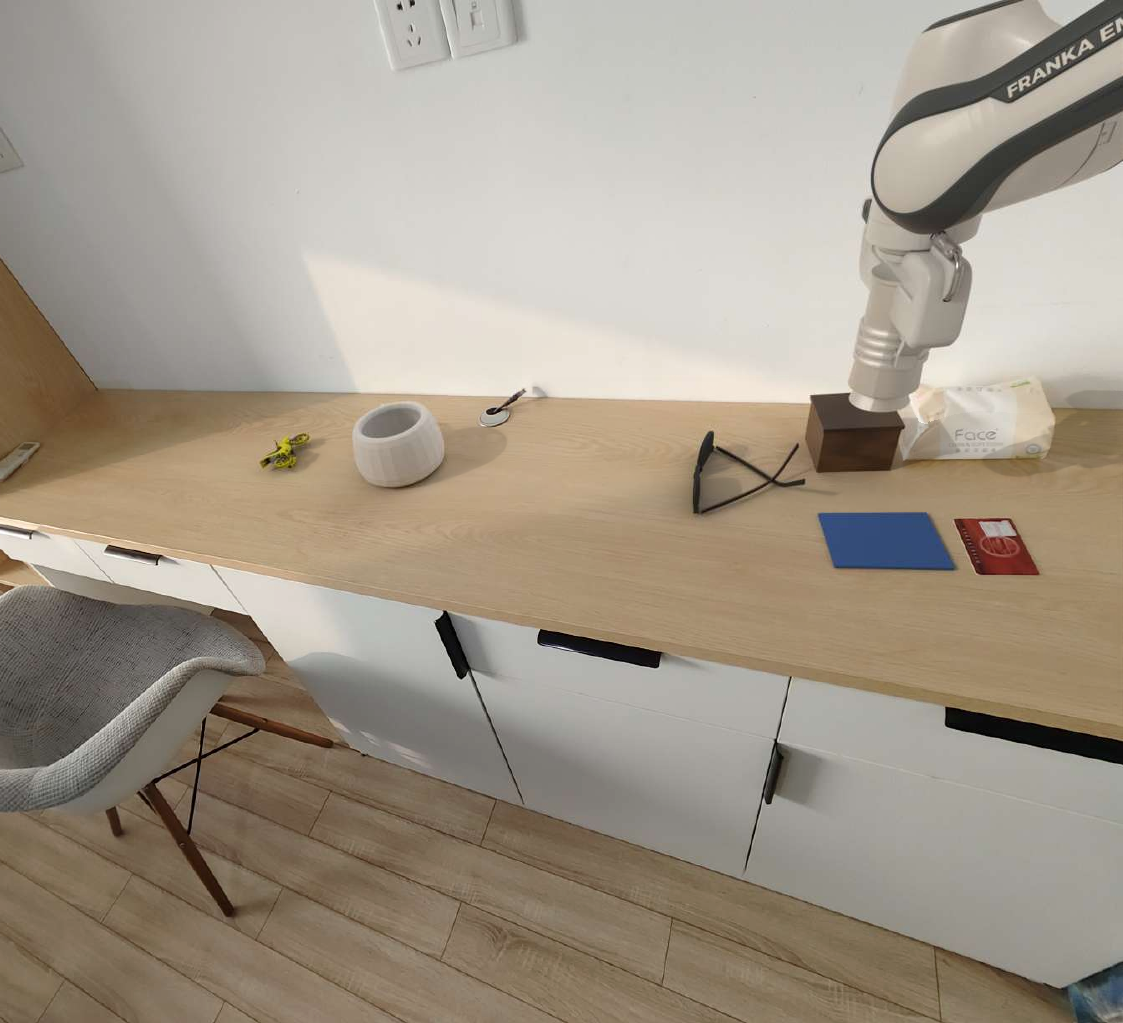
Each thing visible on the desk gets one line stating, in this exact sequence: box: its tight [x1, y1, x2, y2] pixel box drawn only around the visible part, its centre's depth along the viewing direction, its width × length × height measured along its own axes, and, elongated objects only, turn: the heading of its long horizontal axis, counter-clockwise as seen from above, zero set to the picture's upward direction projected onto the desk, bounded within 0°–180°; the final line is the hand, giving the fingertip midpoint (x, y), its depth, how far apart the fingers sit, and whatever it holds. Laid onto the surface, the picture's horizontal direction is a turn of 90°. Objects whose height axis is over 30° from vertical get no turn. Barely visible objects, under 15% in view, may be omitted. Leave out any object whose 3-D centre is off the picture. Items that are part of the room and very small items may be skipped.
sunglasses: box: [692, 430, 806, 515], centre depth 88 cm, size 17×14×5 cm
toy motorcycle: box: [259, 432, 311, 470], centre depth 124 cm, size 12×4×7 cm
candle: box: [847, 262, 932, 412], centre depth 66 cm, size 7×7×15 cm
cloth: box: [817, 511, 956, 571], centre depth 76 cm, size 12×10×1 cm
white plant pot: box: [351, 400, 446, 488], centre depth 112 cm, size 21×17×10 cm
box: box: [804, 391, 906, 473], centre depth 87 cm, size 9×9×8 cm
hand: (890, 349), depth 67 cm, fingers closed on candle, 7 cm apart
